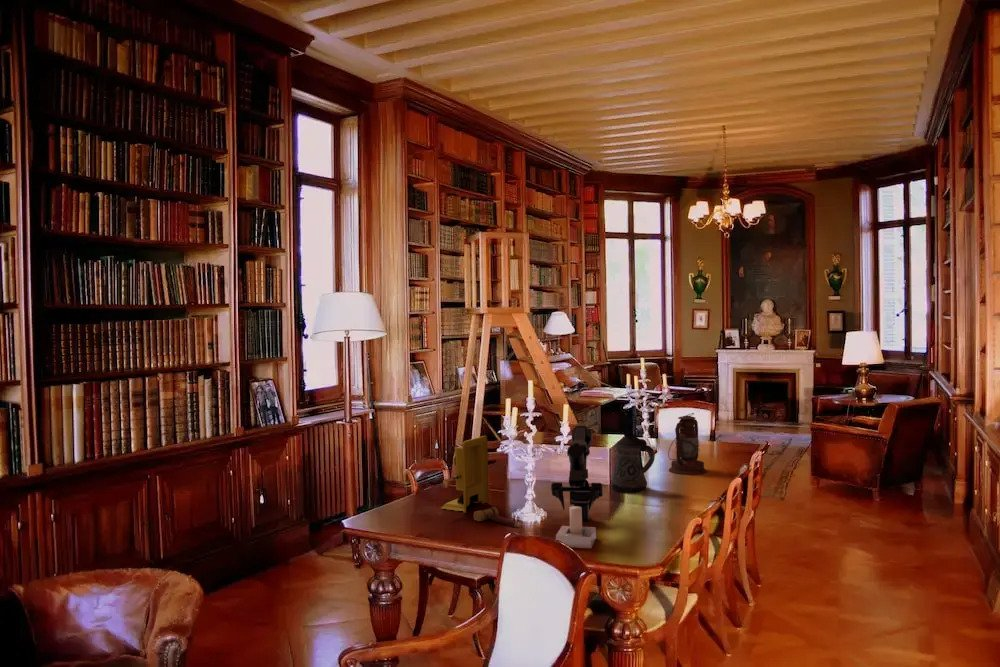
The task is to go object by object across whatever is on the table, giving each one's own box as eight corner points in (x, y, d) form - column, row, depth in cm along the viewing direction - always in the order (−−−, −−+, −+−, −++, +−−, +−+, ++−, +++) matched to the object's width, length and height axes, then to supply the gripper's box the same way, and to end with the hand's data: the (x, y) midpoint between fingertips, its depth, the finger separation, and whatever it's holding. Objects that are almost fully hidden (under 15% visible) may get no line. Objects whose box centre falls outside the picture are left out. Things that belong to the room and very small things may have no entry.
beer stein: (608, 485, 369) (607, 432, 368) (648, 484, 370) (647, 431, 369) (614, 493, 353) (613, 438, 352) (657, 492, 353) (656, 437, 353)
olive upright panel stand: (471, 496, 353) (470, 430, 352) (498, 500, 346) (496, 432, 345) (431, 513, 326) (429, 441, 325) (458, 517, 319) (456, 443, 318)
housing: (562, 536, 288) (562, 525, 288) (595, 538, 285) (595, 527, 285) (556, 546, 276) (555, 535, 276) (591, 548, 273) (590, 537, 273)
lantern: (684, 465, 411) (683, 409, 410) (714, 471, 396) (713, 412, 396) (661, 471, 399) (659, 412, 398) (691, 476, 384) (690, 416, 384)
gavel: (528, 517, 304) (509, 523, 297) (527, 529, 305) (509, 534, 298) (491, 505, 319) (473, 510, 313) (491, 516, 320) (472, 521, 313)
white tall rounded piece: (574, 539, 284) (573, 505, 283) (584, 541, 281) (584, 507, 280) (567, 542, 280) (566, 508, 280) (578, 544, 277) (577, 509, 277)
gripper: (551, 460, 290) (549, 497, 279) (601, 461, 287) (601, 498, 276) (553, 477, 298) (551, 513, 287) (602, 477, 295) (602, 514, 285)
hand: (576, 509), depth 284 cm, fingers open, 9 cm apart
